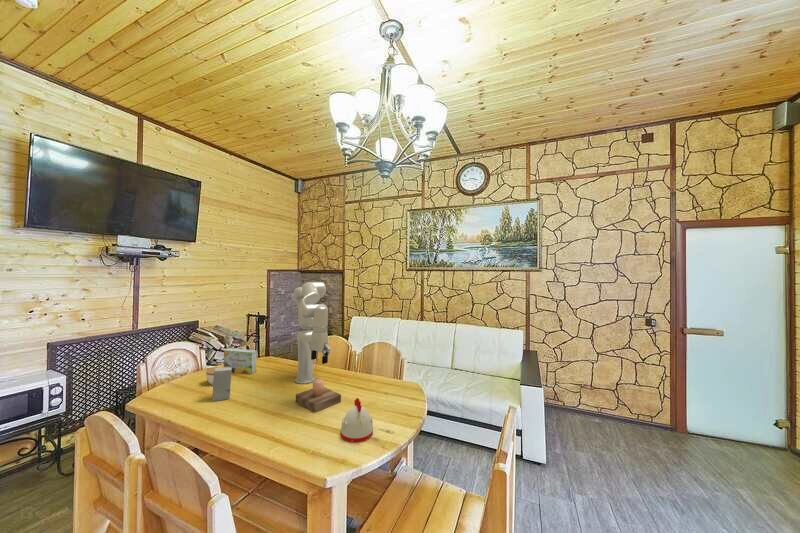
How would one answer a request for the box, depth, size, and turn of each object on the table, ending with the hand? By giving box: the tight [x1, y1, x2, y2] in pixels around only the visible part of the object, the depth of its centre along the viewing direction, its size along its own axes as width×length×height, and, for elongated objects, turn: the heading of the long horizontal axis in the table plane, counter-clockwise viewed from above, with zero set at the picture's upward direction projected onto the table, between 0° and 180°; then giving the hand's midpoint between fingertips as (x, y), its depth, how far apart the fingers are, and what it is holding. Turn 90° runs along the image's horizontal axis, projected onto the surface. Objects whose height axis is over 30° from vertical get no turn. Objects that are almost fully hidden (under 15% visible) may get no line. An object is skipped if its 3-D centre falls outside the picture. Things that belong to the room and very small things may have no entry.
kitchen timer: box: [340, 397, 374, 443], centre depth 131 cm, size 14×14×15 cm
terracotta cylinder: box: [312, 378, 325, 397], centre depth 160 cm, size 6×6×7 cm
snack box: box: [223, 347, 257, 375], centre depth 203 cm, size 21×6×15 cm, turn 81°
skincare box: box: [211, 366, 233, 402], centre depth 162 cm, size 8×7×16 cm
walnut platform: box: [295, 386, 342, 413], centre depth 160 cm, size 18×16×4 cm
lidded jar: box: [205, 367, 219, 386], centre depth 182 cm, size 11×11×9 cm
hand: (319, 361), depth 161 cm, fingers open, 9 cm apart
